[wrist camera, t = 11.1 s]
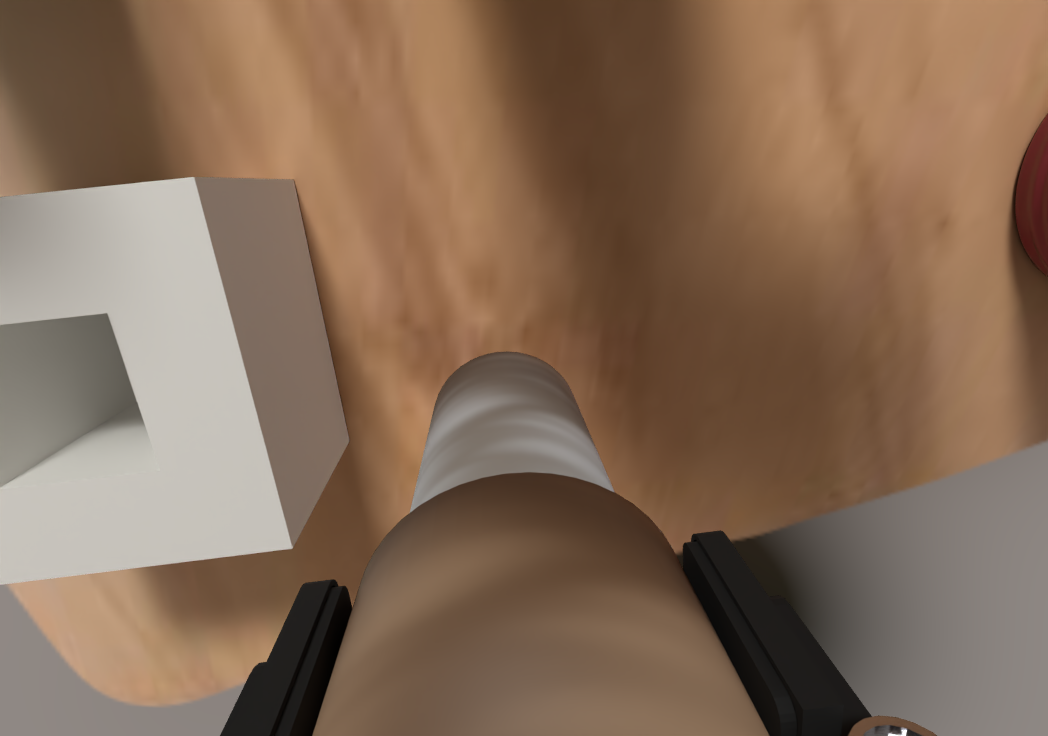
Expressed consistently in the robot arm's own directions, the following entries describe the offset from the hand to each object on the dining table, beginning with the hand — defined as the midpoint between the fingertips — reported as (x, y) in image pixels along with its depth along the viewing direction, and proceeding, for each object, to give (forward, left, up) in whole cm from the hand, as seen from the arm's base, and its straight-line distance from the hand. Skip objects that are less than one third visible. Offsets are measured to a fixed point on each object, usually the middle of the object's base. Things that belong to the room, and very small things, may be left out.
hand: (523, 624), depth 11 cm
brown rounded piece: (0, 0, -10) cm, 10 cm away
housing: (+16, -2, -21) cm, 26 cm away
